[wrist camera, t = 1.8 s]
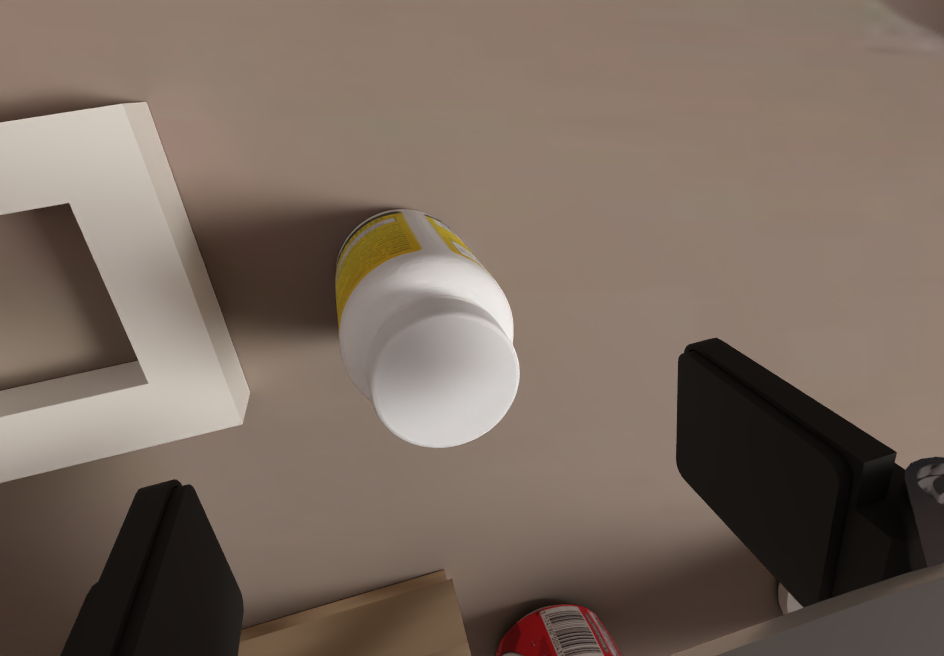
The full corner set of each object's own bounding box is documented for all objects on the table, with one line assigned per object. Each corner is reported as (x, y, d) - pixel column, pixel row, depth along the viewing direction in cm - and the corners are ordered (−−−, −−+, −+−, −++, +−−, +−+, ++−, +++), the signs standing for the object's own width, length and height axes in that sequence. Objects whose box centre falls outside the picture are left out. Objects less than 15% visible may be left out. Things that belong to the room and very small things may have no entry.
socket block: (146, 101, 19) (122, 103, 17) (250, 392, 24) (242, 424, 22) (-249, 163, 17) (-333, 173, 15) (-52, 463, 22) (-94, 505, 20)
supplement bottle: (327, 326, 24) (327, 467, 15) (343, 196, 22) (354, 268, 13) (453, 339, 25) (520, 473, 16) (477, 218, 23) (568, 297, 15)
